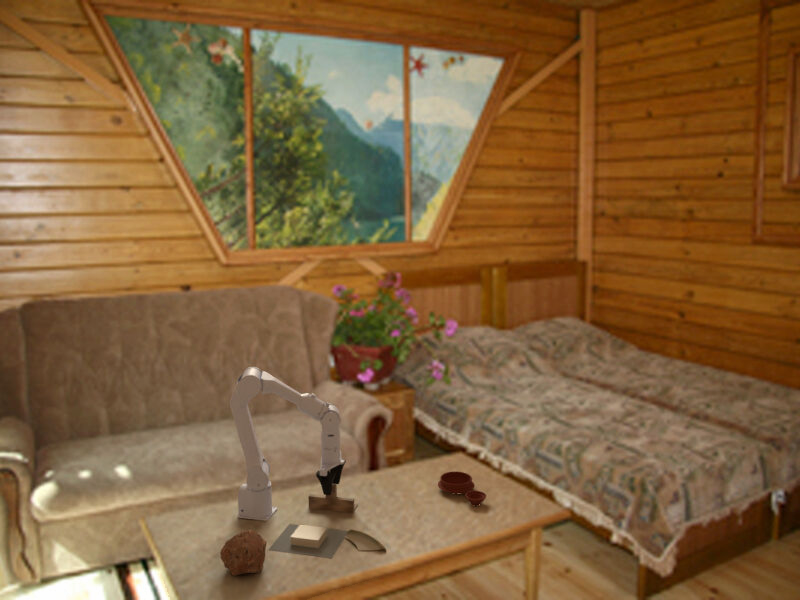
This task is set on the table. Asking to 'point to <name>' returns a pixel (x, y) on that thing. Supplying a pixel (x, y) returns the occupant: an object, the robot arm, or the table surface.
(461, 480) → the pottery
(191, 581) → the table surface
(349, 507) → the walnut scraper
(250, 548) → the decorative rock
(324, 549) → the charcoal mat
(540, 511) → the table surface
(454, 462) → the table surface
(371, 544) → the ceramic fragment
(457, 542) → the table surface
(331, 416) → the robot arm
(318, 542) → the light tan wooden block
